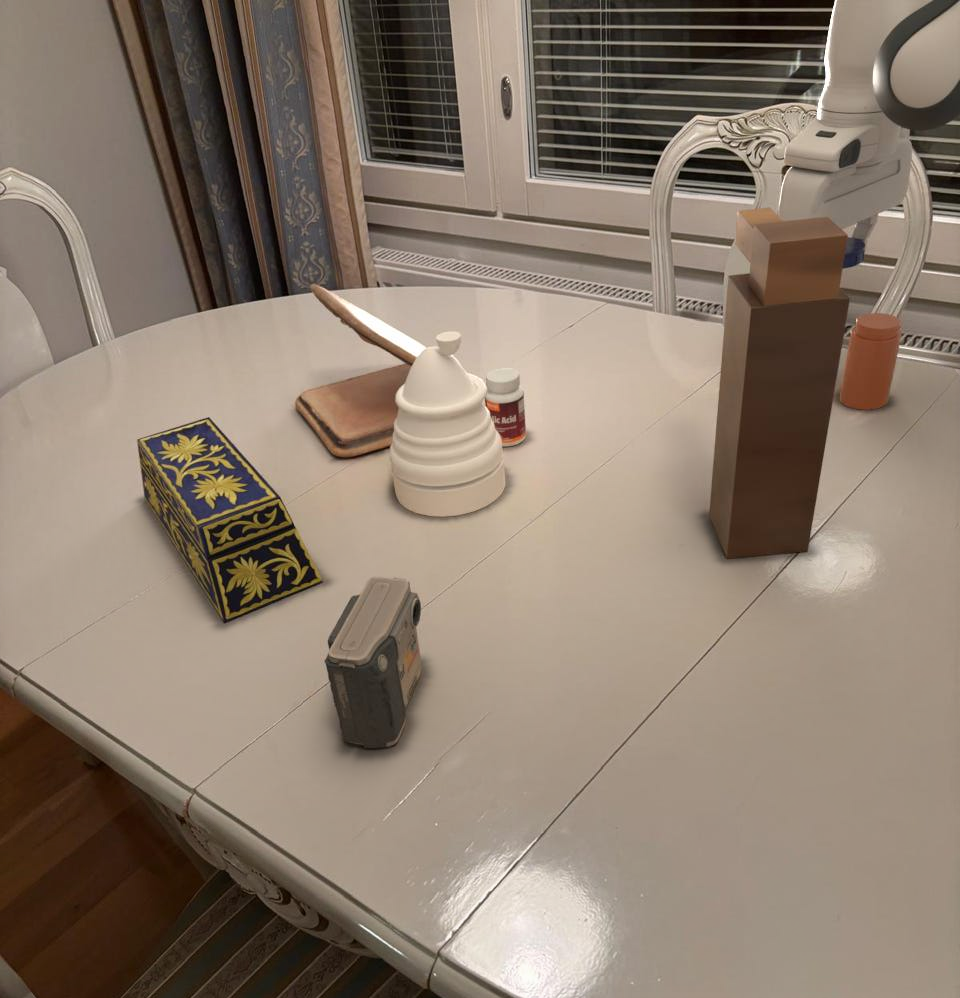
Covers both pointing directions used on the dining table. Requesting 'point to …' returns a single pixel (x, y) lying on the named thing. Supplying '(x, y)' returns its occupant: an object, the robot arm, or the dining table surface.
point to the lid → (853, 252)
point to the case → (359, 387)
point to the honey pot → (445, 437)
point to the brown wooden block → (791, 256)
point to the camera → (375, 661)
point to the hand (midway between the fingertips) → (836, 263)
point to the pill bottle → (506, 405)
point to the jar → (870, 361)
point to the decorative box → (223, 519)
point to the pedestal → (772, 419)
